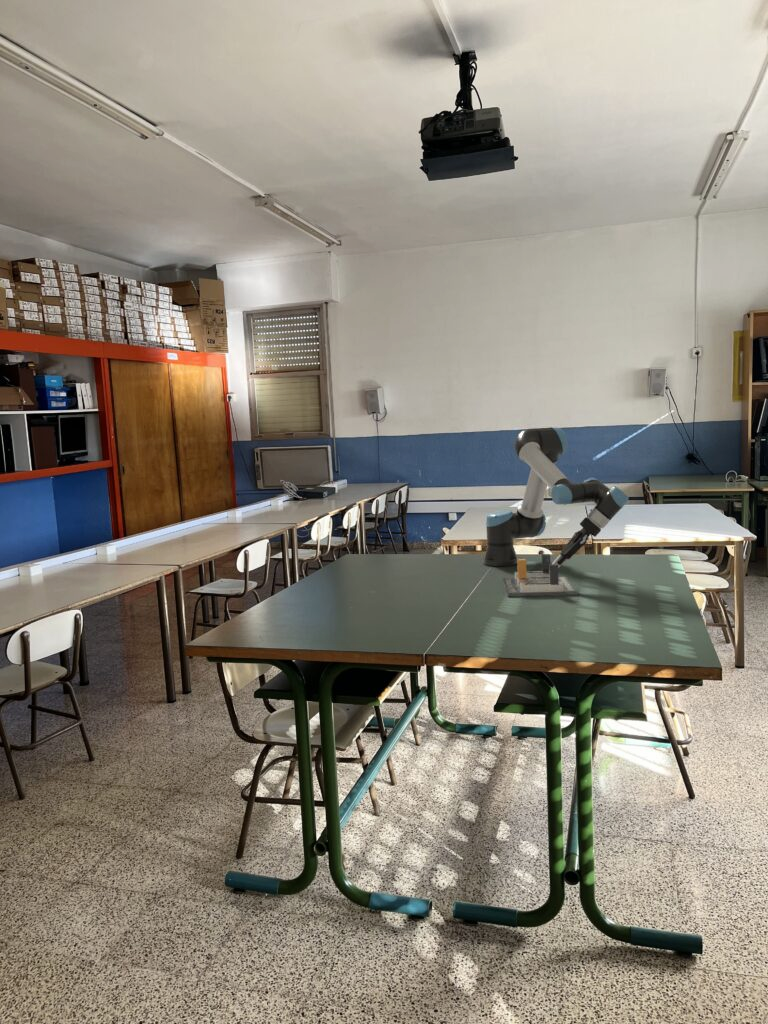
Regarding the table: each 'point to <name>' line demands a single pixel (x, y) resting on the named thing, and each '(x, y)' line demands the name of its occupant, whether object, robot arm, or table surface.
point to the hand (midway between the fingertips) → (551, 569)
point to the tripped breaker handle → (521, 568)
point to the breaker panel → (539, 582)
